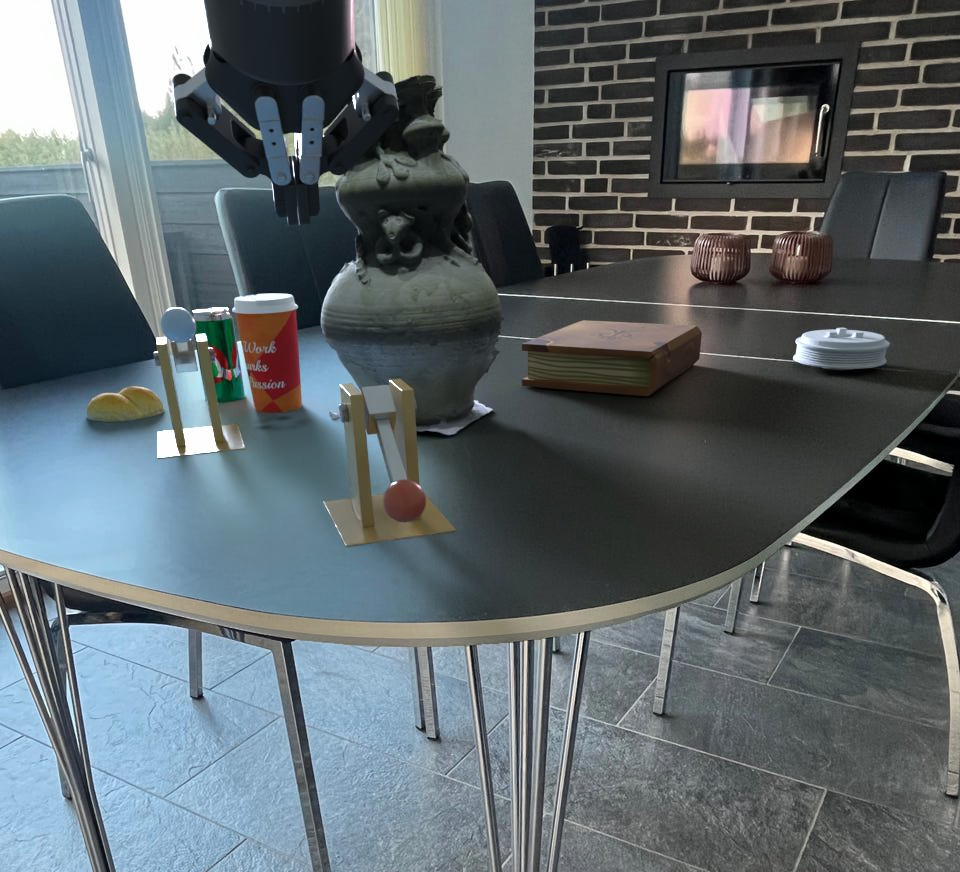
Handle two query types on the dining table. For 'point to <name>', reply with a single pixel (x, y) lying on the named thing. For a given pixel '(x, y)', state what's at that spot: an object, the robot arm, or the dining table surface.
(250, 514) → the dining table surface
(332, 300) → the decorative urn
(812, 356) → the lid
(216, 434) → the hanging ball swing frame
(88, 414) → the bread roll
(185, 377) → the dining table surface
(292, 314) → the paper cup
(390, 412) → the lever
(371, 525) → the swinging ball frame
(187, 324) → the lever
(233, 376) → the soda can
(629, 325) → the diary
